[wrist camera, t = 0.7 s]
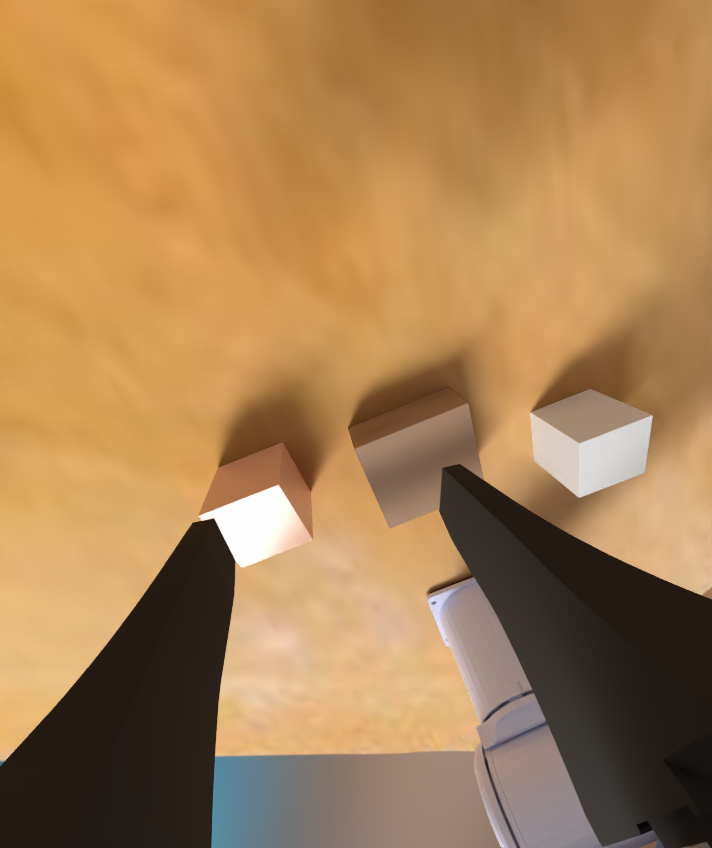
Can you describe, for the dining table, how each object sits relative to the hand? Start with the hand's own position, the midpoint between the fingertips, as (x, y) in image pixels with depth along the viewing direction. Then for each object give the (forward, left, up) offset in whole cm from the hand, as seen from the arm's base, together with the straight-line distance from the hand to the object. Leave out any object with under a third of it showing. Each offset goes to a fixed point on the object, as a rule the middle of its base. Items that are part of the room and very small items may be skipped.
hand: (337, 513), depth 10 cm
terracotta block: (-4, +6, -10) cm, 13 cm away
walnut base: (-6, -4, -11) cm, 13 cm away
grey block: (-9, -15, -10) cm, 21 cm away
